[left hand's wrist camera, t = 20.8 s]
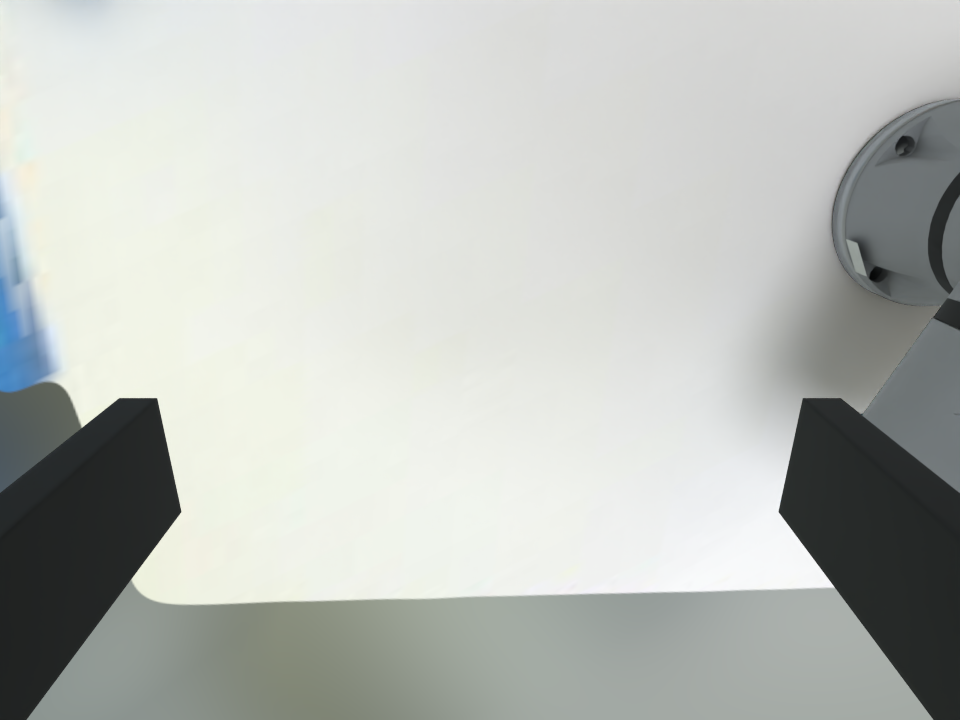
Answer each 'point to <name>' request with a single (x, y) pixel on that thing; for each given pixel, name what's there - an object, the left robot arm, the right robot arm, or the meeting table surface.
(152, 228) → the meeting table surface
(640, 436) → the meeting table surface
